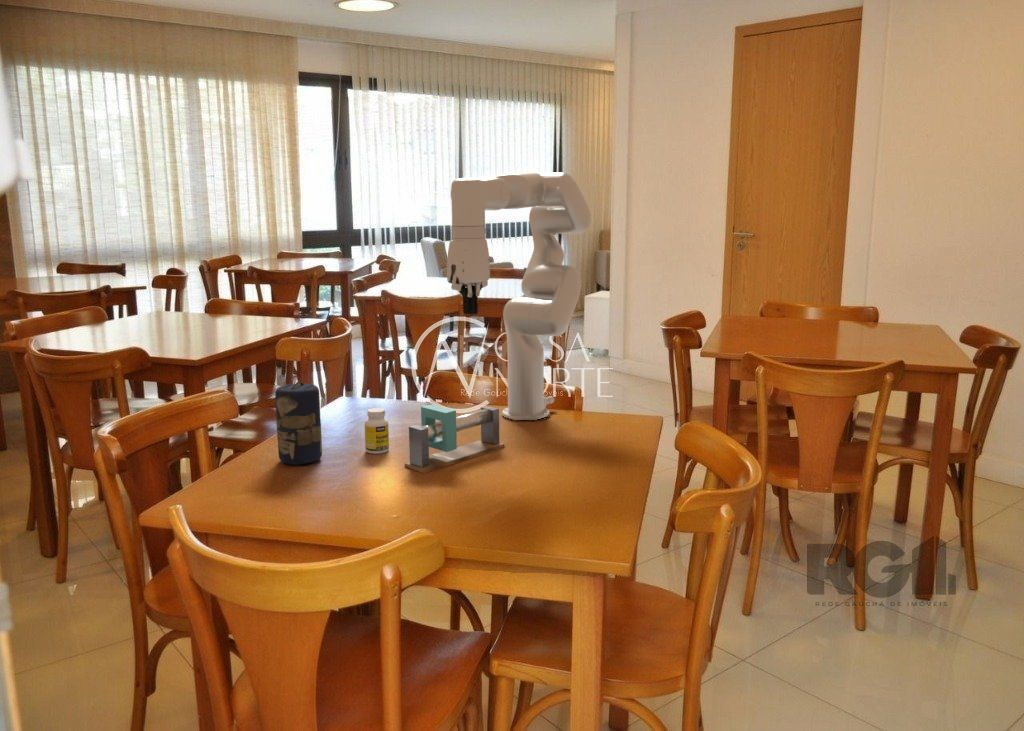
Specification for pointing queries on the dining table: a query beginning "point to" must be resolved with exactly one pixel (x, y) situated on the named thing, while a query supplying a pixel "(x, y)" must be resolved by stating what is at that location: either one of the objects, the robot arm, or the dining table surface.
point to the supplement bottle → (376, 431)
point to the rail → (484, 417)
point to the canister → (298, 423)
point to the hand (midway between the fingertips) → (470, 313)
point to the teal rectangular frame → (448, 426)
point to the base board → (456, 455)
